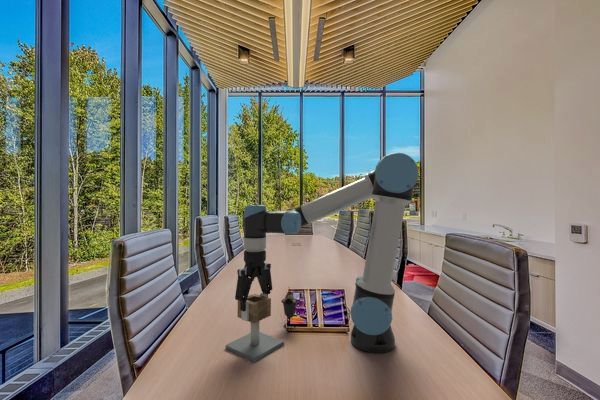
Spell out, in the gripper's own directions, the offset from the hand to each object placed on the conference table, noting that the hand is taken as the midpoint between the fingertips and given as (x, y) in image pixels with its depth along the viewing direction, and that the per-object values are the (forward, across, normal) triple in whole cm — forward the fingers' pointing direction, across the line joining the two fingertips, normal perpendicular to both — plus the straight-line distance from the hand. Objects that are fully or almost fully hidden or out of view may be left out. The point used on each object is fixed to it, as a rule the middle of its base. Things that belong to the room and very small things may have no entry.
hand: (254, 315), depth 102 cm
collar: (0, 0, 0) cm, 0 cm away
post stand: (+11, 0, 0) cm, 11 cm away
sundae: (+11, -20, -1) cm, 23 cm away
